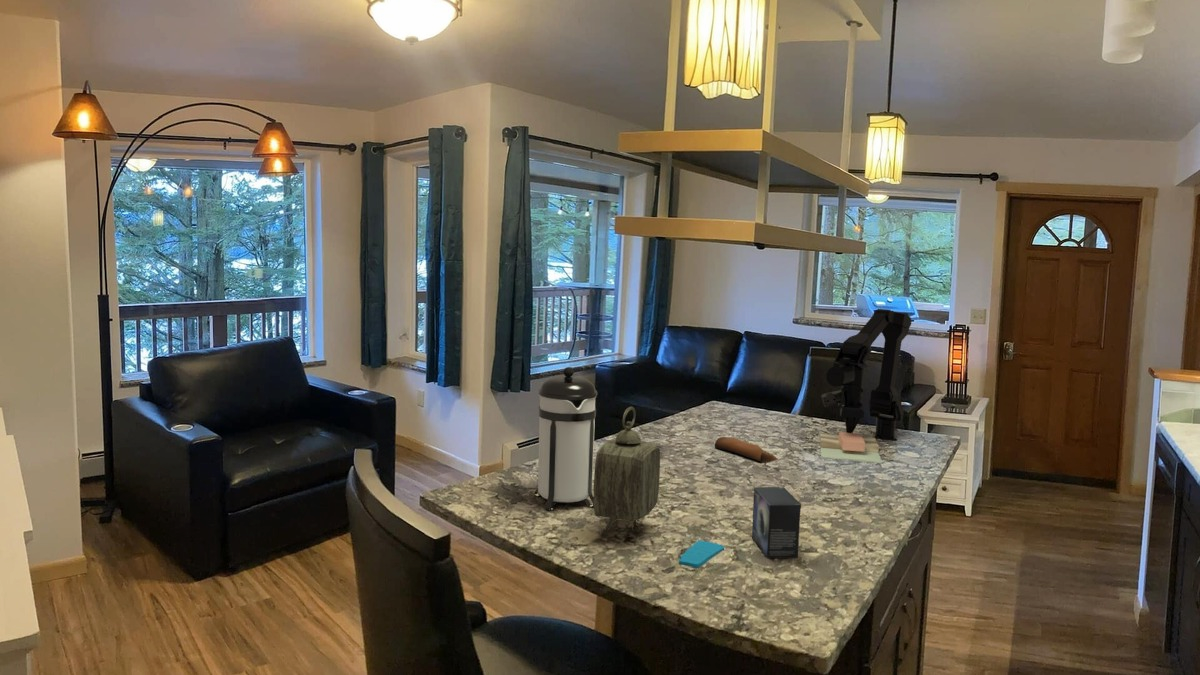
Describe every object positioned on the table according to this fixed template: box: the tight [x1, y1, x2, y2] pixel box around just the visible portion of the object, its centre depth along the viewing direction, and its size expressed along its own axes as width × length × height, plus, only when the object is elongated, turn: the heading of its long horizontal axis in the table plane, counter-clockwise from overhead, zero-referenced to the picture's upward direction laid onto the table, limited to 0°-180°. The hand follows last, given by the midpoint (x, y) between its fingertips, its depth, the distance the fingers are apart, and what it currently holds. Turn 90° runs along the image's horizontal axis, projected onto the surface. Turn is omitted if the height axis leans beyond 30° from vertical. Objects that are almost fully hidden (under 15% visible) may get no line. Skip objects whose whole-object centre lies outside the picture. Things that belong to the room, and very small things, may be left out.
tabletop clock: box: [593, 406, 661, 538], centre depth 152 cm, size 14×9×25 cm, turn 159°
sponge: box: [678, 540, 725, 569], centre depth 143 cm, size 2×12×6 cm
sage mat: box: [820, 448, 883, 464], centre depth 218 cm, size 10×16×1 cm, turn 75°
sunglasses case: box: [714, 436, 780, 464], centre depth 216 cm, size 18×7×7 cm
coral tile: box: [838, 431, 865, 452], centre depth 222 cm, size 9×6×2 cm, turn 170°
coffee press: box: [533, 366, 598, 511], centre depth 170 cm, size 17×16×30 cm
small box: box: [751, 486, 802, 559], centre depth 147 cm, size 11×6×10 cm, turn 5°
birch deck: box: [819, 432, 880, 453], centre depth 229 cm, size 12×16×2 cm
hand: (848, 435), depth 227 cm, fingers closed
